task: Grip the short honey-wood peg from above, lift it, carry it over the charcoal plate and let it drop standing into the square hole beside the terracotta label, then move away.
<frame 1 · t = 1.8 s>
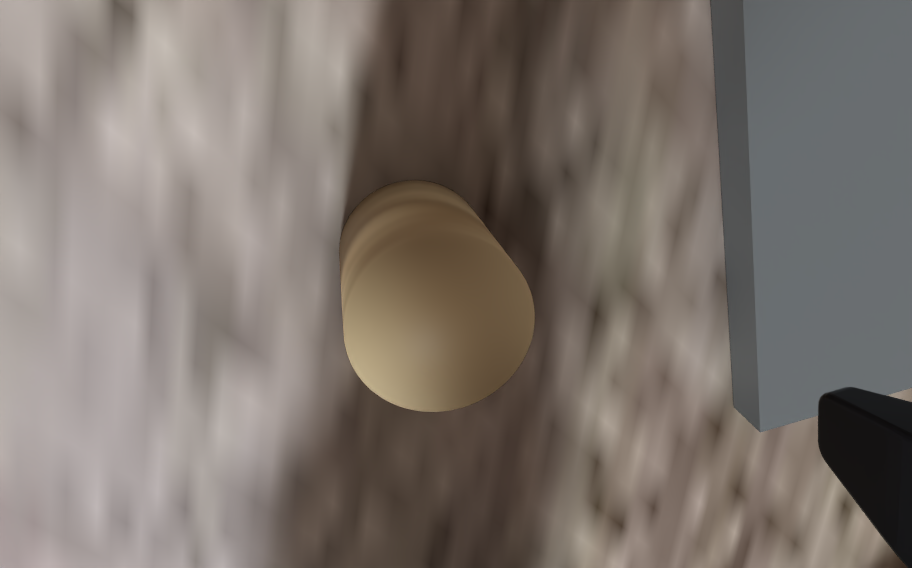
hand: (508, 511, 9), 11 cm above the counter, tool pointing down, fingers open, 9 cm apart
peg: (413, 252, 19), on the counter
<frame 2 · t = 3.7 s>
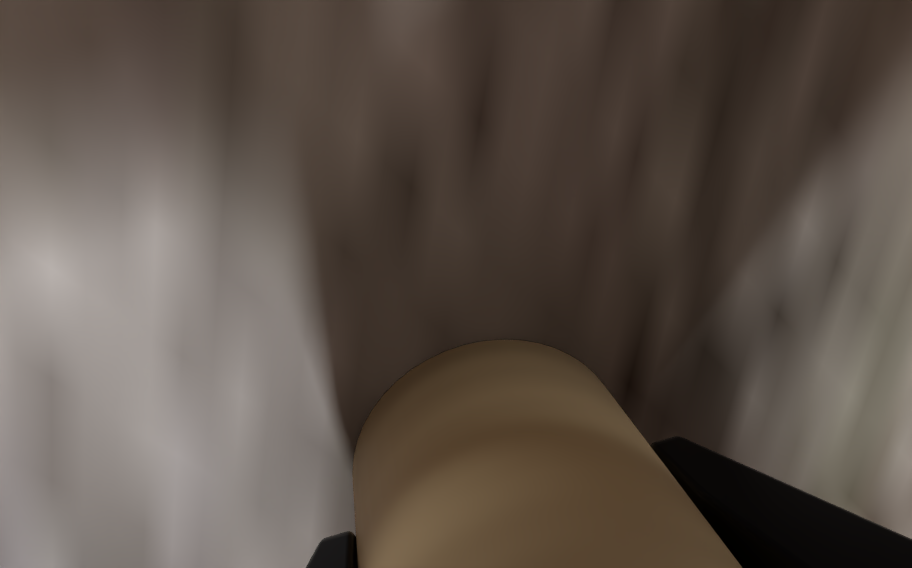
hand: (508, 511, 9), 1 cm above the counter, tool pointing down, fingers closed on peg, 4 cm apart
peg: (491, 463, 10), on the counter, touching gripper
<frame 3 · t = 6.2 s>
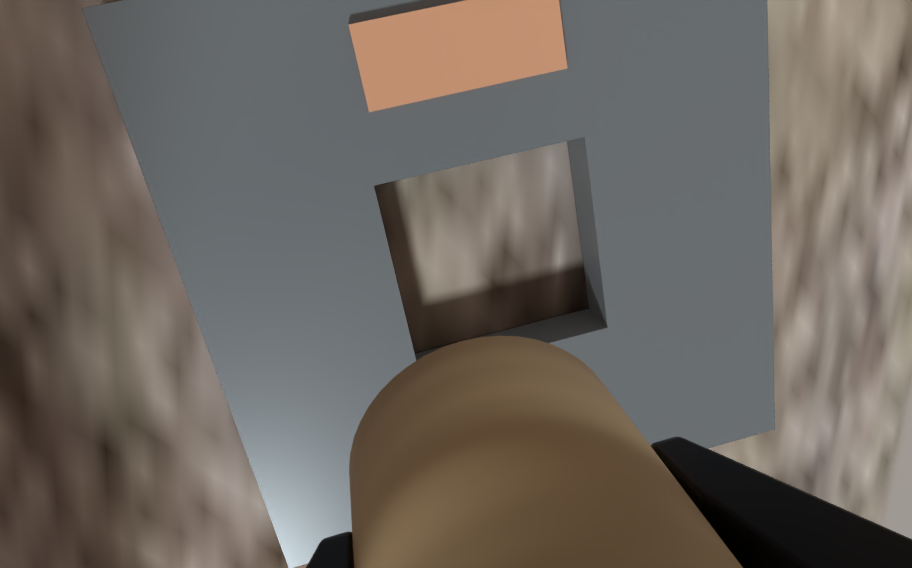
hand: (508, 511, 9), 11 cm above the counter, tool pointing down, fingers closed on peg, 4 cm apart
hole plate: (486, 245, 20), on the counter
peg: (488, 460, 10), point 10 cm above the counter, touching gripper
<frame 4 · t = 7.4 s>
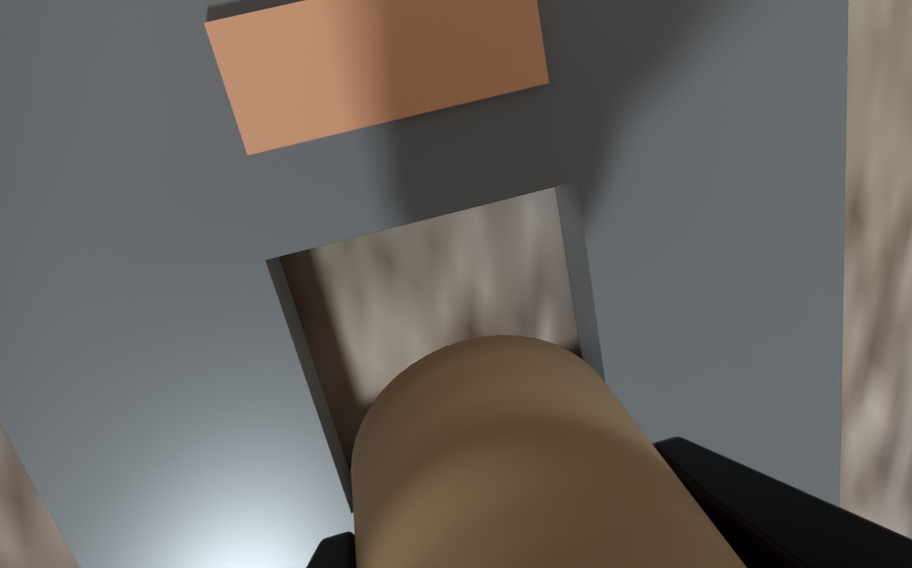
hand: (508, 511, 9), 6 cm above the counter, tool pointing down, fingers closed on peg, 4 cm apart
hole plate: (444, 325, 14), on the counter
peg: (490, 460, 10), point 5 cm above the counter, touching gripper
when the fingers open (3 cm above the counter, at t = 8.6 s): peg drops 2 cm, resting in hole plate.
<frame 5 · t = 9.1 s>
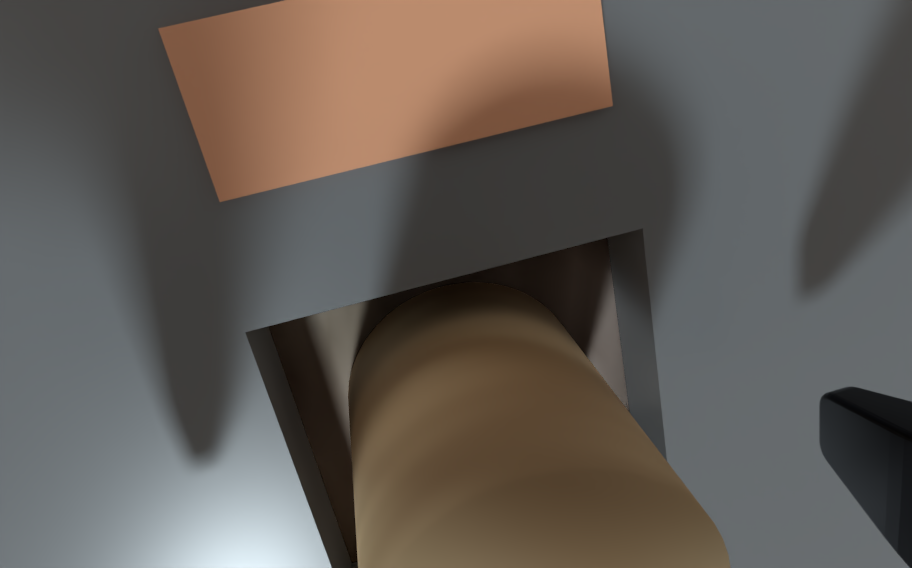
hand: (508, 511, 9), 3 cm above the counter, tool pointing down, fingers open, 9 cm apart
hole plate: (468, 395, 12), on the counter
peg: (465, 390, 12), resting in hole plate
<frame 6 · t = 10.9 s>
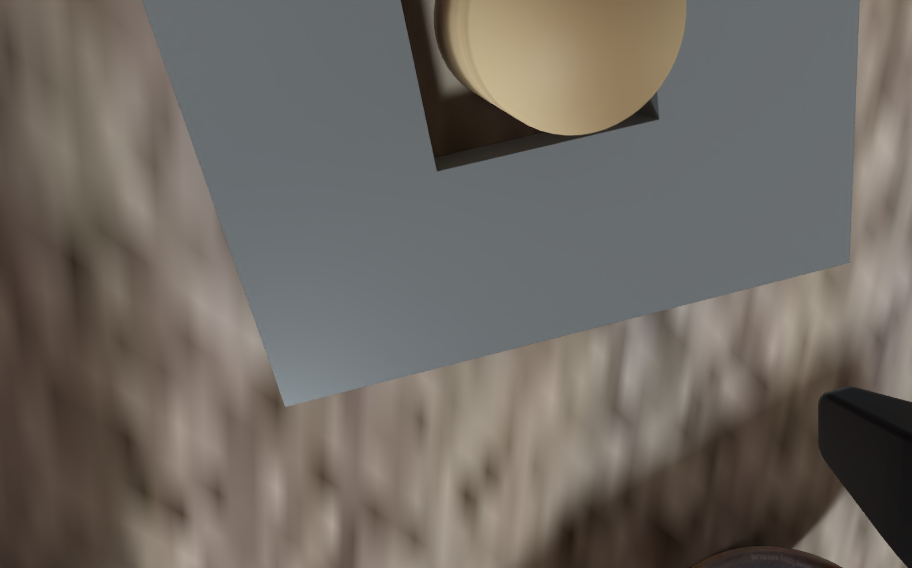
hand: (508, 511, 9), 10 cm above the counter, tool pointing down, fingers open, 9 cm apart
hole plate: (516, 22, 17), on the counter
peg: (514, 19, 17), resting in hole plate
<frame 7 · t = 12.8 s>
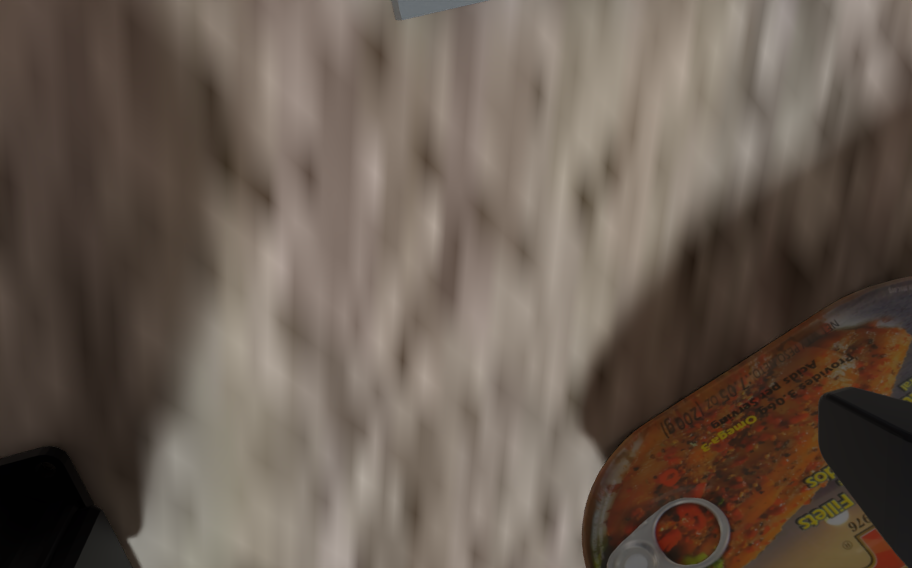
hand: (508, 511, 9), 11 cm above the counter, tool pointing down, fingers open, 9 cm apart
tin: (748, 392, 23), on the counter
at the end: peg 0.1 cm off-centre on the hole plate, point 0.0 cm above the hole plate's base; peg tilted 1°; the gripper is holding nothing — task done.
